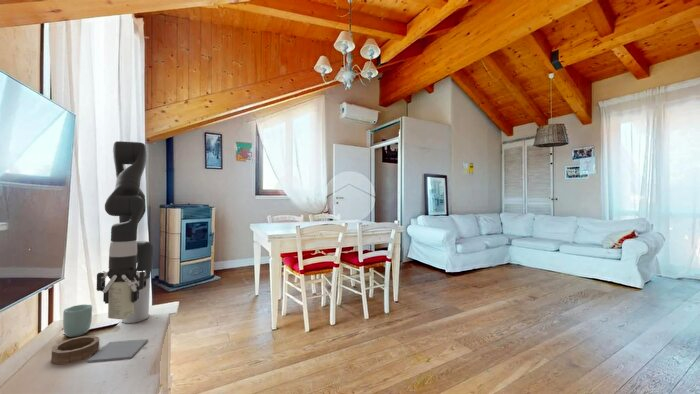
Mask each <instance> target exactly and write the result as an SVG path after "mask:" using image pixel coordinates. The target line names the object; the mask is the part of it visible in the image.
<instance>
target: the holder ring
mask: <svg viewBox="0 0 700 394" xmlns="http://www.w3.org/2000/svg"><path fill="white" fill-rule="evenodd" d="M99 350H100V337H99V336H96V335H83V336H82V335H80V336H76V337H71V338H69V339H67V340H64V341H61V342H59V343H57V344H55V345H54V346H53V347H52V348H51V359H50V361H51V363H53V364H56V365H65V364H72V363H76V362H78V361H79V362H80V361H84V360H85V359H89V358H91V357H92V356H93V355H95V354H96V353H97V352H98V351H99Z"/></svg>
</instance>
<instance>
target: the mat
mask: <svg viewBox="0 0 700 394" xmlns="http://www.w3.org/2000/svg"><path fill="white" fill-rule="evenodd" d="M148 341H149V339H148V338H147V339H146V338H145V339H133V340H123V341H122V340H121V341H119V340H118V341H110V342H108V343H106V344H105V345H104V346H103V347H102V348H101V349H99V351H98V352H96V353H95V354H94V355H92V356H90V357H89V358H88V360H87V363H95V362H108V361H119V360H121V361H122V360H128V359H129V360H130V359H133V357H134V356H135V355H136V354H137V353H139V351H140V350H141V349H142V347H144V345H146V343H147V342H148Z"/></svg>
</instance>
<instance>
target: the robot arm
mask: <svg viewBox="0 0 700 394" xmlns="http://www.w3.org/2000/svg"><path fill="white" fill-rule="evenodd" d="M112 145H113V146H112V154H113V163H114V169H115V176H116V182H115V186H114V187H115V188H114V189H113V191H112V192H111V193H110V194H109V196H108V197H107V198H106V201H105V203H104V210H105V212H106V214H107V215H109V216H111V217H112V216H113V217H118V220H119V222H118V223H114V224H112V226H111V229H110V244H109V249H108V271H104V270H103V271H100V272H98V273H97V274H96V292H101V293H103V303H104V304H108V294H109V289H110V287H111V285H112V284H113V283H114V282H128V286H129V287H131V289H132V290H133V292H132V302H134V315H133V316H130V317H128V318H125V319H123V320H122V319H121V323H123V324H134V323H139V322H142V321H145V320H147V319H148V318H149V317H150V316H149V315H150V313H149V312H150V291H151V290H150V288H151V285H150V283H151V272H152V269H153V268H152V266H153V259H154V246H153V243H152V242H150V241H146V240H139V241H138V239H137V238H138V225H139V223H140V222H141V220H142V218H143V217H144V215H145V213H146V211H147V210H146V207H147V206H146V196H145V193H144V191H143V190H142V189H141V188H140V187H141V181H142V176H143V173H144V170H145V168H146V164H147V162H148V150H147V146H146V144H145V143H143V142H139V141H123V140H122V141H121V140H120V141H119V140H118V141H115V142H114V143H113V144H112ZM126 165H129V166H128V167H126ZM106 278H108V279H110V280H109V281H108V282H107V284H106ZM131 280H134V282H131Z"/></svg>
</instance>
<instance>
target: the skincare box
mask: <svg viewBox="0 0 700 394" xmlns="http://www.w3.org/2000/svg"><path fill="white" fill-rule="evenodd" d="M131 282H134V280H131ZM132 292H133V290H132V289H131V287H129V286H128V282H114V283H113V284H112V285H111V287H110V289H109V294H108V307H107V309H108V310H107V318H108V319H113V320H114V319H115V320H121V321H122V320H123V319H125V318H128V317H130V316H133V315H134V302H132Z"/></svg>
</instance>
